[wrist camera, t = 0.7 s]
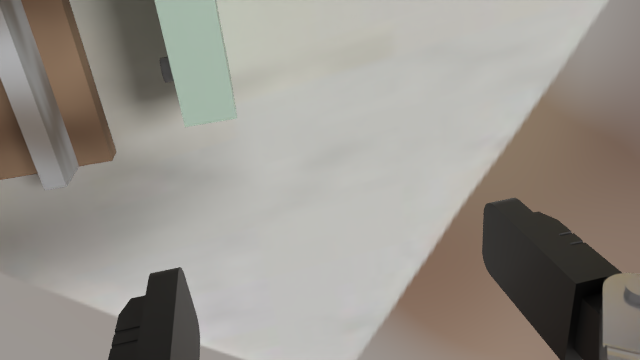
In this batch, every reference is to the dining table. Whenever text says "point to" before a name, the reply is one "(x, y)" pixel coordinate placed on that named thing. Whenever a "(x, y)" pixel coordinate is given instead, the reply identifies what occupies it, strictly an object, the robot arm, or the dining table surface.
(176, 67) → the door panel
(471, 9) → the dining table surface
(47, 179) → the door track
